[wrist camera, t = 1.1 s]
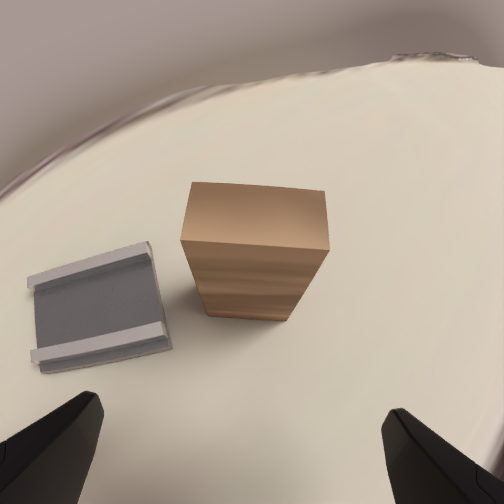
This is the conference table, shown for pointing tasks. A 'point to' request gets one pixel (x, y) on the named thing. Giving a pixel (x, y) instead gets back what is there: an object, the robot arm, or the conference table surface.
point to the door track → (98, 311)
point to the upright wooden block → (254, 247)
